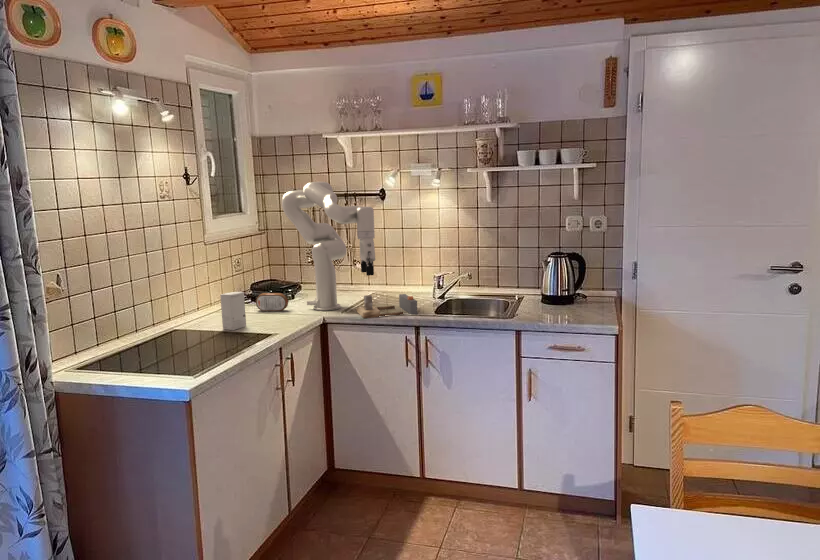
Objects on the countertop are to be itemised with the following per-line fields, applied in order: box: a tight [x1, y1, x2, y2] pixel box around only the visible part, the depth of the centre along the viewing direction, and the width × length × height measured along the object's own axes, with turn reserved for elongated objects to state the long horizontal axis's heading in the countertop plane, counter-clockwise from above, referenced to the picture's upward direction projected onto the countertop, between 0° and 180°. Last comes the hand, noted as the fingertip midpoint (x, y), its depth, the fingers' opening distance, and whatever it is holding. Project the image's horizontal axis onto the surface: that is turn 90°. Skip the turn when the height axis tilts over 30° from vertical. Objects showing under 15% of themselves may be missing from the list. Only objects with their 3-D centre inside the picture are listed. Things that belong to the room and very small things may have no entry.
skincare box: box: [219, 291, 247, 331], centre depth 263 cm, size 8×6×15 cm
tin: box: [255, 292, 289, 312], centre depth 295 cm, size 15×3×8 cm, turn 84°
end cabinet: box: [398, 293, 418, 315], centre depth 288 cm, size 3×18×6 cm, turn 17°
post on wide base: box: [356, 294, 381, 318], centre depth 282 cm, size 8×11×8 cm
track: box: [355, 305, 404, 319], centre depth 284 cm, size 18×15×1 cm
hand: (367, 273), depth 280 cm, fingers open, 9 cm apart
